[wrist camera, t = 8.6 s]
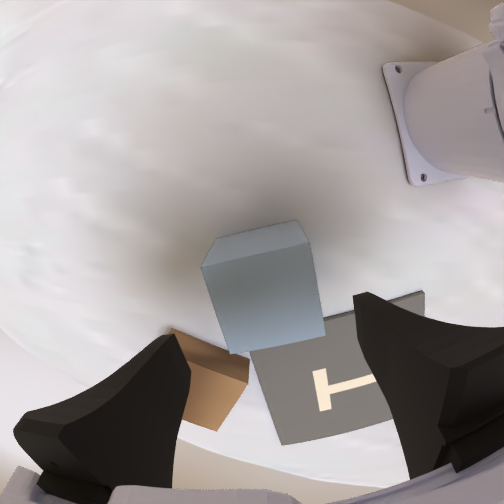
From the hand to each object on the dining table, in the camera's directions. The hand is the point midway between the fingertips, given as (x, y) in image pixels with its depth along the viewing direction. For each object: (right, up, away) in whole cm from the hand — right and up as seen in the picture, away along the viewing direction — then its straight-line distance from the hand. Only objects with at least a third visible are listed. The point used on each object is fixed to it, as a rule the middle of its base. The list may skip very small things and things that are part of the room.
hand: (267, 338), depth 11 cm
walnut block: (-5, -6, +10) cm, 13 cm away
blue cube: (0, +2, +8) cm, 8 cm away
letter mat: (+7, -7, +10) cm, 14 cm away
